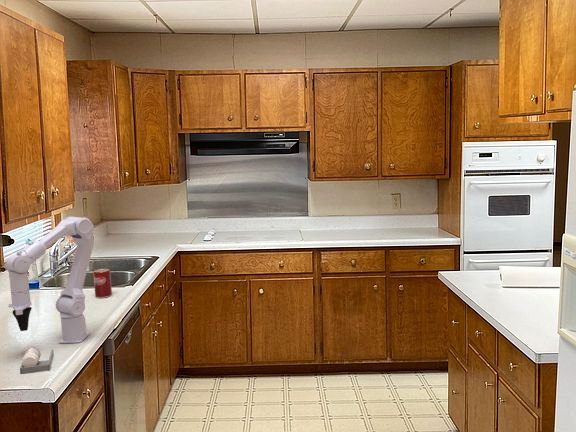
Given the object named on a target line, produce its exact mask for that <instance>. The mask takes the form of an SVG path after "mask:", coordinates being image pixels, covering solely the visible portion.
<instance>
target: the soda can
mask: <svg viewBox="0 0 576 432" xmlns="http://www.w3.org/2000/svg"><path fill="white" fill-rule="evenodd" d="M92 273H93V285H94V295H95V298H97V299H107V298H110V297H112V296H113V292H112V291H113V289H112V278H111V270H110V269H109V268H98V269H95V270H93V272H92Z"/></svg>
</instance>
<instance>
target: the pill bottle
mask: <svg viewBox="0 0 576 432" xmlns="http://www.w3.org/2000/svg"><path fill="white" fill-rule="evenodd" d="M41 355H42V354H41V350H40V349H38V348H36V347H30V348H28V349H27V350H26V351H25V353H24V354H23V357H22V361H23V366H24V367H31V366H36V365H37V364H38V361H39V360H40V359H41Z"/></svg>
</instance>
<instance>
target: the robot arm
mask: <svg viewBox="0 0 576 432" xmlns="http://www.w3.org/2000/svg"><path fill="white" fill-rule="evenodd" d="M94 228H95V226H94V224H93V223H92V221H91V220H90V219H89V218H88V217H79V216H72V215H70V216H67V217H65V218H64V219H62V220H60V222H59V223H58V224H57V225H56V226H55V227H54V228H53V229H52V230H51V231H49V232H48V233H46V234H45V235H44V236H43V237H42V238H41V239H40V240H37V239H35V240H30V241H28V242H27V245H26V246H25V247H24V248H22V249H20V250H17V251H16V254H12V255H9V256H8V257H7V258H6V260H5V263H4V265H3V266H4V268H5V270H6V271H7V272H8V276H9V277H8V278H9V286H10V287H9V289H10V296H11V303H9V304H8V306H7V307H8V308H12V309H13V310H12V312H11V313H12V316H14V319H15V320H16V322H17V325H18V327H19V331H20V332H27V331H28V330H29V321H30V320H29V318H30V314H31V311H32V308H33V307H31V305H32V301H31V293H30V285H29V284H30V283H29V275H28V274H29V273H28V271H29V270H30V269H31V265H32V264H34V263H35V262H36V261H38V260H39V259H40V258H41V257H43V256H44V255H45V254H46V252H47V248H49V247H50V246H52V245H54V244H55V243H56V242H57V241H59V240H60V239H62V238H63V237H65V236H70V237H72V239H73V240H74V241H75V243H76V248H75V252H74V256H73V259H72V263H71V268H70V272H69V274H68V275H69V276H68V278H67V279H68V281H67V284H66V287H65V288H64V289H62V291H61V292H60V295H59V296H58V298H57V300H56V302H55V308H56V310H57V312H58V313H59V316H60V324H61V326H60V327H61V335H62V338H61V339H60V340H59V341H58V344H71V343H72V344H74V343H75V344H76V343H78V344H80V343H82V342H83V341H84V340H85V339H86V338H87V337H88V336H89V335H90V333H89V332H87V325H86V324H87V323H86V317H85V315H84V314H83V313H84V312H85V309H86V303H85V301H86V295H85V293H84V291H83V288H84V284H85V280H86V276H87V273H88V268H89V264H90V261H91V257H92V252H93V248H94V244H95V238H94Z"/></svg>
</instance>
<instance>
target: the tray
mask: <svg viewBox="0 0 576 432" xmlns="http://www.w3.org/2000/svg"><path fill="white" fill-rule="evenodd" d="M54 355H55V354H54V349H51V350H50V355H49V358H48V359H47V360H40V361H38V364H37V365H36V366H31V367H24V366H23V360H22V362H21V363H20V364H21V365H20V367H19V373H20V375H22V374H24V375H25V374H30V373H31V374H32V373H39V372H45V371H46V372H47V371H51V367H52V363H53V358H54Z"/></svg>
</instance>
